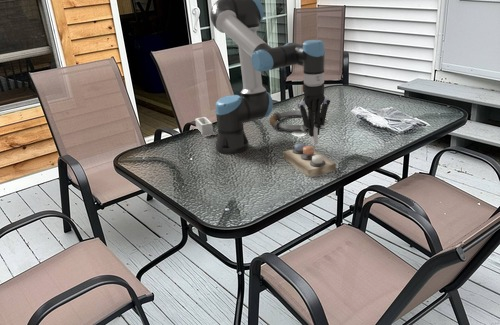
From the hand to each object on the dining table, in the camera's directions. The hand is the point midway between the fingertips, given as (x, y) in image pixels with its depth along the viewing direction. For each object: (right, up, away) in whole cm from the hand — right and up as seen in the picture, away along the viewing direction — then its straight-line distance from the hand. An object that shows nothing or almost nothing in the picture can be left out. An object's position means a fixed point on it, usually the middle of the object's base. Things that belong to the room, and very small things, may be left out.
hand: (314, 143), depth 174 cm
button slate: (-4, -2, +14) cm, 15 cm away
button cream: (+1, -7, +1) cm, 7 cm away
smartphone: (-48, +7, +54) cm, 73 cm away
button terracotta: (-1, -3, +7) cm, 8 cm away
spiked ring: (0, +12, +56) cm, 58 cm away
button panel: (-1, -8, +9) cm, 12 cm away
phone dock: (-48, +8, +54) cm, 73 cm away
